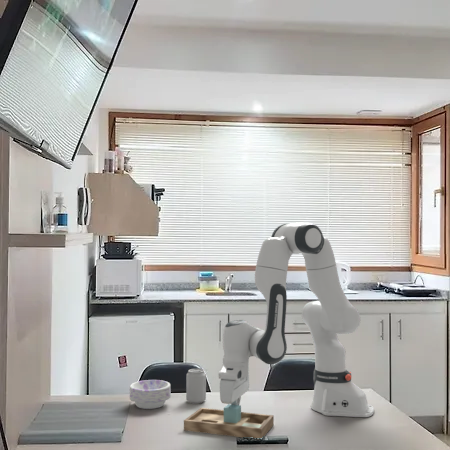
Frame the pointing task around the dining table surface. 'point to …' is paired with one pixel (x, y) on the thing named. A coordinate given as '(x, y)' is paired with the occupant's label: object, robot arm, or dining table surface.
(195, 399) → the can
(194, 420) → the wooden tray
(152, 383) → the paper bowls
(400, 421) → the dining table surface
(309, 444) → the dining table surface
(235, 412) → the block
